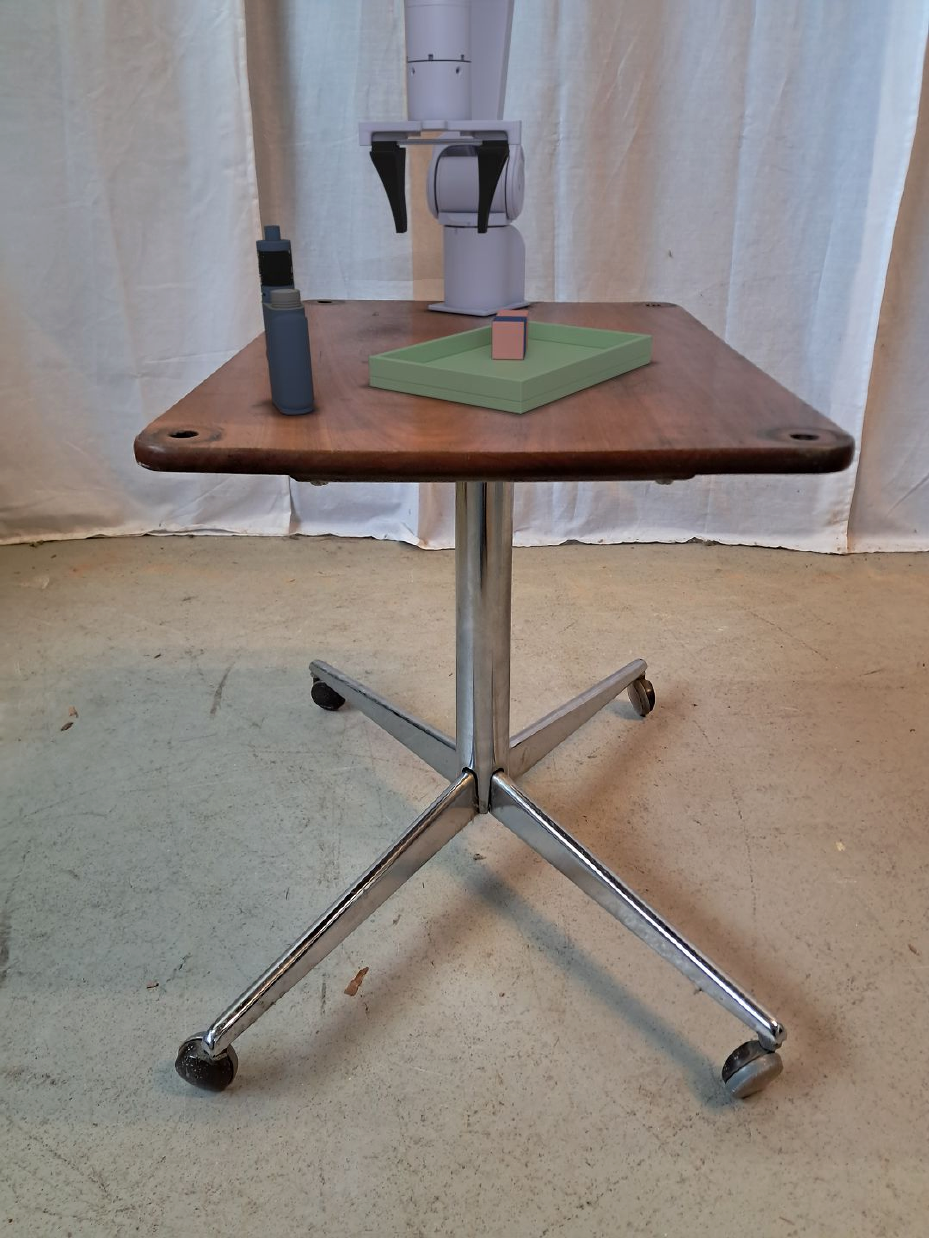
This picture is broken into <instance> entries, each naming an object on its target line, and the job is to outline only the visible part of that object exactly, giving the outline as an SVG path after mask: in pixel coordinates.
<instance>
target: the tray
mask: <svg viewBox="0 0 929 1238" xmlns="http://www.w3.org/2000/svg"><path fill="white" fill-rule="evenodd" d="M652 346H653V335H652V334H643V333H636V332H627V331H619V330H610V329H602V328H594V327H585V326H575V325H568V324H561V323H552V322H543V321H534V320H529V326H528V346H527V349H526V354H525V357H524V359H523V360H514V359H492V324H489V325H485V326H481V327H478V328H474V329H473V328H472V329H471V330H466V331H462V332H458V333H454V334H450V335H447V336H441V337H439V338H435V339H431V340H427V341H423V342H419V343H416V344H412V345H407V346H404V347H399V348H397V349H393V350H389V351H385V352H382V353H378V354H373V355H370V356H368V370H369V373H368V374H369V387H373V388H378V389H383V390H389V391H393V392H394V391H395V392H400V393H404V394H405V393H406V394H409V395H416V396H420V397H421V396H422V397H427V398H432V399H438V400H443V401H449V402H455V403H460V404H466V405H470V406H475V407H481V408H487V409H492V410H498V411H504V412H508V413H515V414H520V415H521V414H524V413H526V412H529V411H531V410H534V409H536V408H539V407H541V406H543V405H546V404H550V403H552V402H554V401H557V400H559V399H562V398H564V397H568V396H570V395H572V394H574V393H577V392H579V391H583V390H585V389H587V388H590V387H592V386H594V385H597V384H600V383H602V382H605V381H607V380H610V379H612V378H615V377H618V376H620V375H623V374H625V373H628V372H630V371H632V370H635V369H638V368H640V367H643V366H645V365H648V364H650V363H651V358H652Z"/></svg>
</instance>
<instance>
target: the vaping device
mask: <svg viewBox="0 0 929 1238" xmlns="http://www.w3.org/2000/svg"><path fill="white" fill-rule="evenodd" d="M263 231H264V239H258V240H256V241H255V247H256V248H255V249H256V256H257V265H258V266H257V267H258V276H259V278H260V279H259V284H260V293H261V301H260V302H261V308H262V309H261V310H262V317H263V327H264V335H265V336H264V337H265V338H264V339H265V346H266V347H265V348H266V349H265V356H266V360H267V365H268V374H269V375H268V376H269V384H270V395H271V402H272V404H273V405H274V406H275V407H276V408H277V409H278V411H279V413H282V414H283V415H289V416H297V415H305V414H309V413H311V412H313V410H314V405H313V404H314V401H315V392H314V380H313V368H312V367H313V366H312V359H311V358H312V356H311V355H312V354H311V345H310V331H309V320H308V317H307V316H306V310H305V309H306V306H305V305H304V304H303V303H302V299H301V290H300V289H297V288H296V287H295V286H296V285H295V275H294V265H293V264H294V263H293V253H292V241H291V239H286V238H282V236H281V226H280V225H273V224H272V225H270V224H269V225H263Z"/></svg>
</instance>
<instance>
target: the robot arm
mask: <svg viewBox="0 0 929 1238" xmlns="http://www.w3.org/2000/svg"><path fill="white" fill-rule="evenodd" d="M515 1H516V0H403V7H404V8H403V10H404V35H405V38H404V39H405V41H404V42H405V62H406V64H405V69H406V70H405V73H406V101H407V103H406V104H407V120H397V121H396V120H395V121H394V120H393V121H389V120H388V121H387V120H386V121H358V123H357V124H358V140H359V141H358V144H359V146H360V147H371V148H370V151H368V154H369V158H370V160H371V163H372V164H373V166H374V168H375V170H376V172H377V174H378V177H379V179H380V181H381V184H382V185H383V189H384V191H385V193H386V197H387V200H388V203H389V206H390V210H391V213H392V217H393V221H394V228H395V233H396V234H405V233H407V232H408V212H407V211H408V210H407V197H406V162H407V161H406V160H407V159H406V158H407V147H406V146H432V150H431V151H432V152H431V156H430V157H431V158H430V161H429V164H428V166H427V171H426V179H425V193H426V194H425V195H426V202H427V208H428V209H429V210H428V211H429V212H430V214H431V215H432V217H433V218H434V219H435V220H437V221H438V225H439V226H442V244H443V246H442V247H443V248H442V249H443V252H442V253H443V296H444V297H443V301H442V302H437V303H432V304H429V305H428V307H427V309H428V310H429V311H437V312H438V311H439V312H447V313H454V314H462V315H470V316H479V317H480V316H481V317H487V316H490V315H495V314H497V313H498V312H499V310H517V309H519V308H524V307H529V306H530V305H531V303H532V302H531V300H526V299H525V283H526V245H525V240H524V237H523V236H522V234H521V232H520V230H519V229H518V228H517V227H516V226H514V225H513V224H512V223H513V222H514V221H516V220H517V219H518V218H519V217H520V215H521V214H522V212H523V208H524V201H525V190H526V189H525V187H526V186H525V185H526V184H525V183H526V182H525V179H526V177H525V164H526V159H525V152H524V148H523V146H522V134H523V133H522V131H523V130H522V129H523V127H522V126H523V122H522V119H510V120H509V119H508V120H507V119H505V120H504V115H505V113H504V112H505V104H506V93H507V85H508V84H507V83H508V73H509V62H510V54H511V53H510V52H511V51H510V50H511V41H512V34H513V33H512V31H513V23H514V10H515ZM422 132H424V133H425V132H426V133H427V132H431V133H432V132H437V133H438V132H442V133H441V134H439V135H438V136H437V137H435V138H416V137H421V136H422ZM410 137H411V138H410ZM412 137H413V138H412ZM414 137H415V138H414ZM404 146H405V147H404Z"/></svg>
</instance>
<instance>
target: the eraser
mask: <svg viewBox="0 0 929 1238" xmlns="http://www.w3.org/2000/svg"><path fill="white" fill-rule="evenodd" d="M529 321H530V310H529V309H528V310H527V309H526V310H525V309H512V310H499V312H498V313H496V315H494V317H493V319H492V320H491V325H492V359H514V360H523V359H524V357H525V354H526V349H527V346H528V326H529Z"/></svg>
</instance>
